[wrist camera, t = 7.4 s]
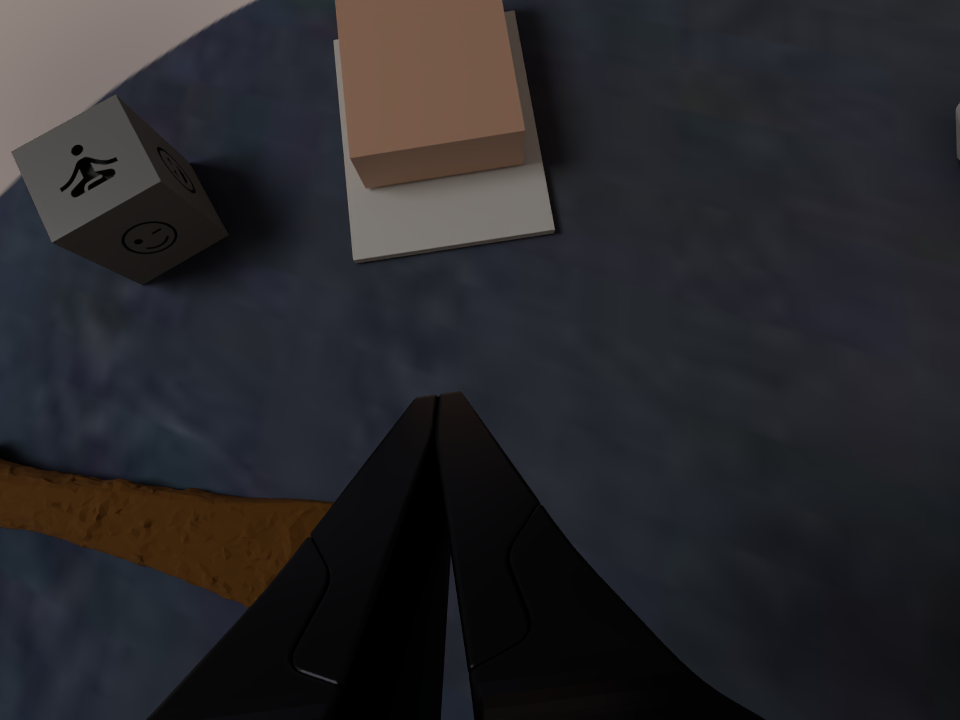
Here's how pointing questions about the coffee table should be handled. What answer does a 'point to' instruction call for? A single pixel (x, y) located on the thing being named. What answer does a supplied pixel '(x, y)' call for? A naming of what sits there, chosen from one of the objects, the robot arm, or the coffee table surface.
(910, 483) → the coffee table surface
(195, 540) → the primitive tool
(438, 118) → the tile
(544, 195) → the mat
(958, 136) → the geometric ball
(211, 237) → the dice cube
